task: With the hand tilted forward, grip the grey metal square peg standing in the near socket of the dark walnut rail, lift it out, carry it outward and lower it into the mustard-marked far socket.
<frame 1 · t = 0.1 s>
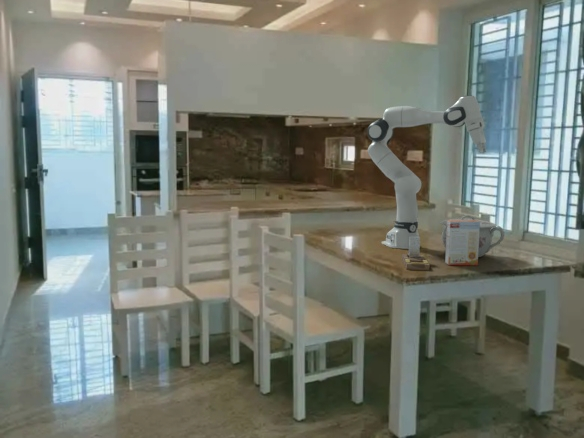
hand: (483, 152, 292), 52 cm above the table, tool tilted 20°, fingers open, 8 cm apart
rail: (414, 264, 270), on the table
peg: (413, 261, 276), resting in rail
chamber pot: (466, 256, 293), on the table
cracker box: (460, 264, 272), on the table
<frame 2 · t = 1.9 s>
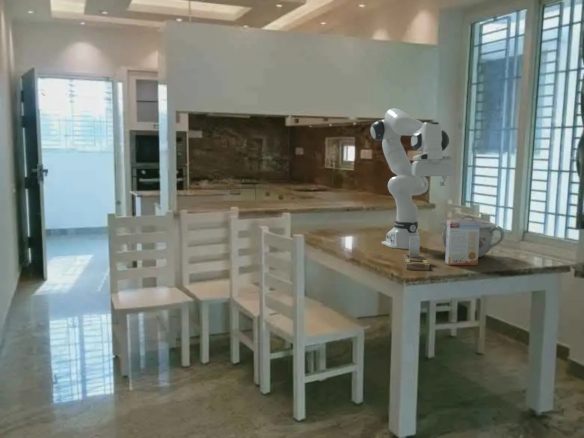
hand: (433, 186, 270), 36 cm above the table, tool pointing down, fingers open, 8 cm apart
nothing on the table moved.
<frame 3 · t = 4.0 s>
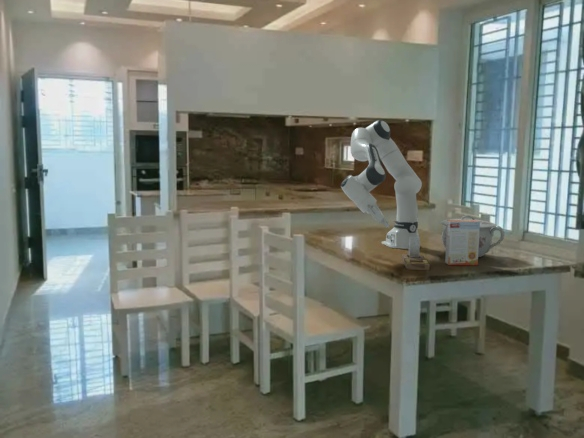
hand: (387, 225, 275), 17 cm above the table, tool tilted 45°, fingers open, 8 cm apart
nothing on the table moved.
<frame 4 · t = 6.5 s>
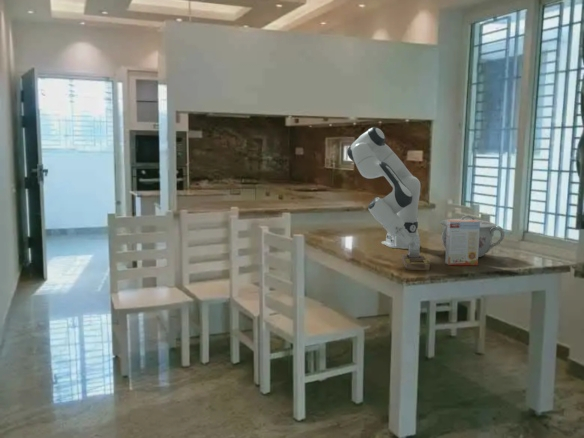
hand: (415, 247, 275), 7 cm above the table, tool tilted 45°, fingers closed on peg, 4 cm apart
peg: (413, 261, 276), resting in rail, touching gripper
everything else where it was.
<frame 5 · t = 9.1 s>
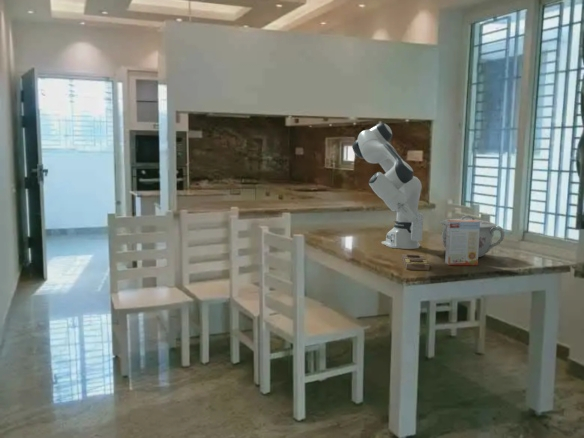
hand: (418, 224, 261), 19 cm above the table, tool tilted 45°, fingers closed on peg, 4 cm apart
peg: (416, 239, 262), point 13 cm above the table, touching gripper
everything else where it was.
when the fingers open (8 cm above the table, at t = 11.6 s): peg drops 1 cm, resting in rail.
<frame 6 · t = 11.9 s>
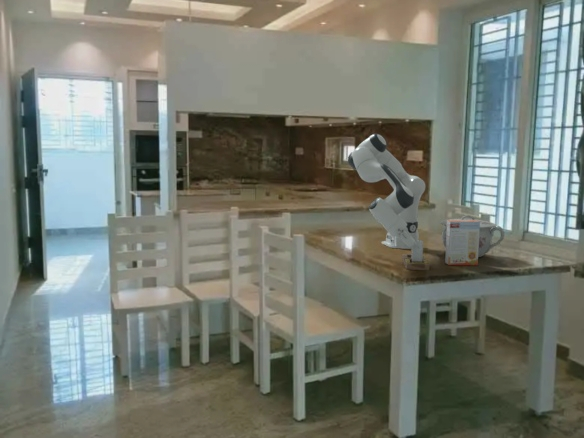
hand: (418, 250, 263), 8 cm above the table, tool tilted 45°, fingers open, 7 cm apart
peg: (416, 267, 264), resting in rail
everything else where it was.
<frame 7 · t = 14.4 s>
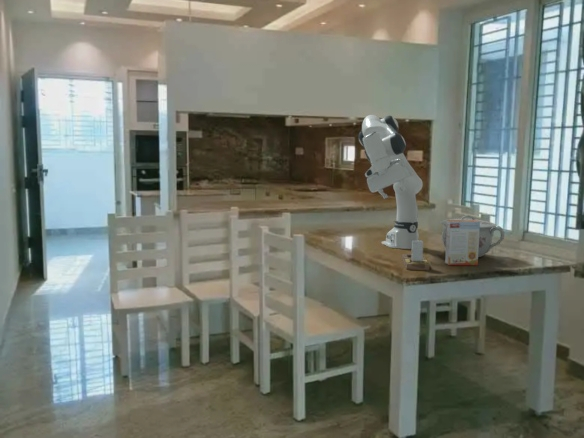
hand: (394, 194, 261), 33 cm above the table, tool tilted 25°, fingers open, 8 cm apart
nothing on the table moved.
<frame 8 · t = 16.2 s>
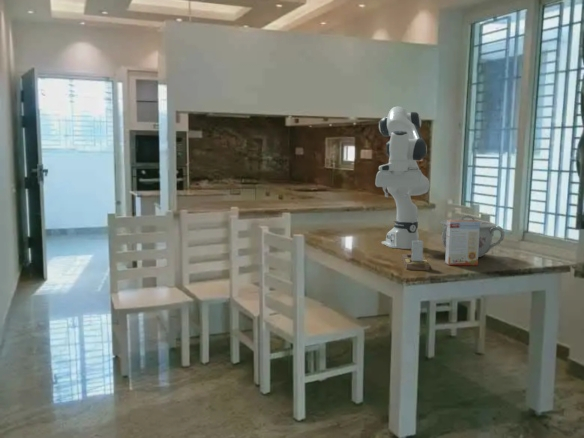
hand: (396, 197, 265), 31 cm above the table, tool pointing down, fingers open, 8 cm apart
nothing on the table moved.
at the end: peg 0.1 cm from the target spot, resting in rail; peg tilted 0°; the gripper is holding nothing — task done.
